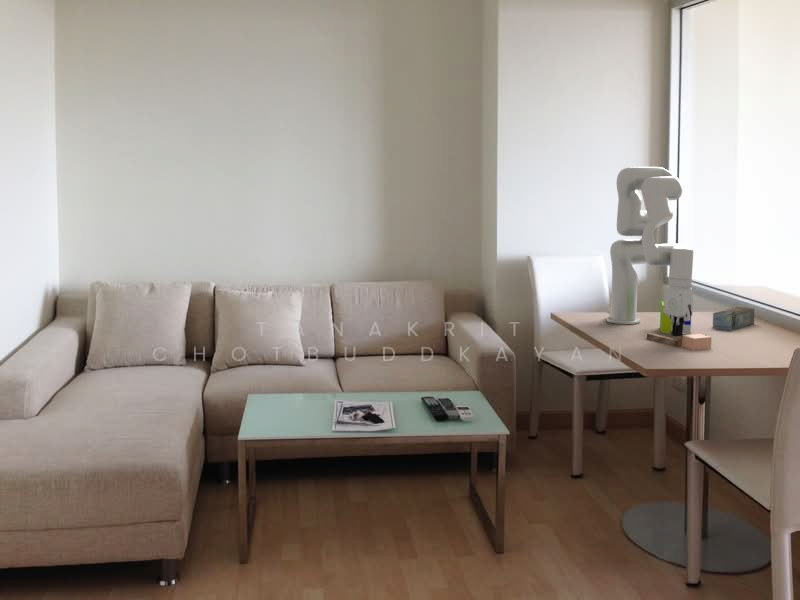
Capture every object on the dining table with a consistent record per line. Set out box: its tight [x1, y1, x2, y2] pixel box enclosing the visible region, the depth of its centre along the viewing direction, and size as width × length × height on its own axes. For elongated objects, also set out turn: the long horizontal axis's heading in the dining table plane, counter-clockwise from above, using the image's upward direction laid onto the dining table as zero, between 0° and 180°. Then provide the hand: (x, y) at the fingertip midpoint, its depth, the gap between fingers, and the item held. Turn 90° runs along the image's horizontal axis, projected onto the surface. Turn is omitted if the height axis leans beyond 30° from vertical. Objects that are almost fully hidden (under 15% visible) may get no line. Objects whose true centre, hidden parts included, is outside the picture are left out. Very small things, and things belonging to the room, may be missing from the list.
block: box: [681, 333, 712, 351], centre depth 321 cm, size 6×7×4 cm
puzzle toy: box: [659, 300, 692, 335], centre depth 350 cm, size 10×10×10 cm
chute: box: [646, 331, 707, 348], centre depth 331 cm, size 16×12×3 cm
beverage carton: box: [712, 306, 755, 331], centre depth 360 cm, size 8×19×7 cm, turn 135°
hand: (677, 335), depth 331 cm, fingers closed
